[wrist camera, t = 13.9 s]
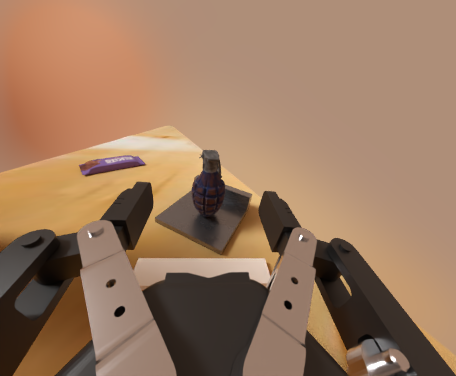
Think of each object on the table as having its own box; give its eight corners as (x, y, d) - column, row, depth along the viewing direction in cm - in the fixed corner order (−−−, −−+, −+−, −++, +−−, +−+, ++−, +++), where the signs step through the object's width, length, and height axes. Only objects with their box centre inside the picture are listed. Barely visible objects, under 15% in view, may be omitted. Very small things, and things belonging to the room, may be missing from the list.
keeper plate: (155, 221, 24) (152, 204, 22) (197, 189, 33) (198, 175, 31) (221, 254, 21) (223, 237, 19) (248, 208, 30) (252, 194, 28)
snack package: (137, 152, 41) (144, 160, 38) (138, 159, 42) (145, 167, 39) (77, 160, 34) (80, 170, 31) (80, 169, 35) (84, 179, 32)
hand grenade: (190, 201, 28) (190, 144, 23) (217, 200, 29) (224, 145, 24) (192, 225, 23) (193, 161, 18) (225, 222, 25) (234, 161, 19)
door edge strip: (128, 290, 16) (126, 286, 16) (139, 262, 19) (138, 258, 18) (270, 286, 18) (272, 283, 18) (263, 262, 21) (264, 258, 20)
